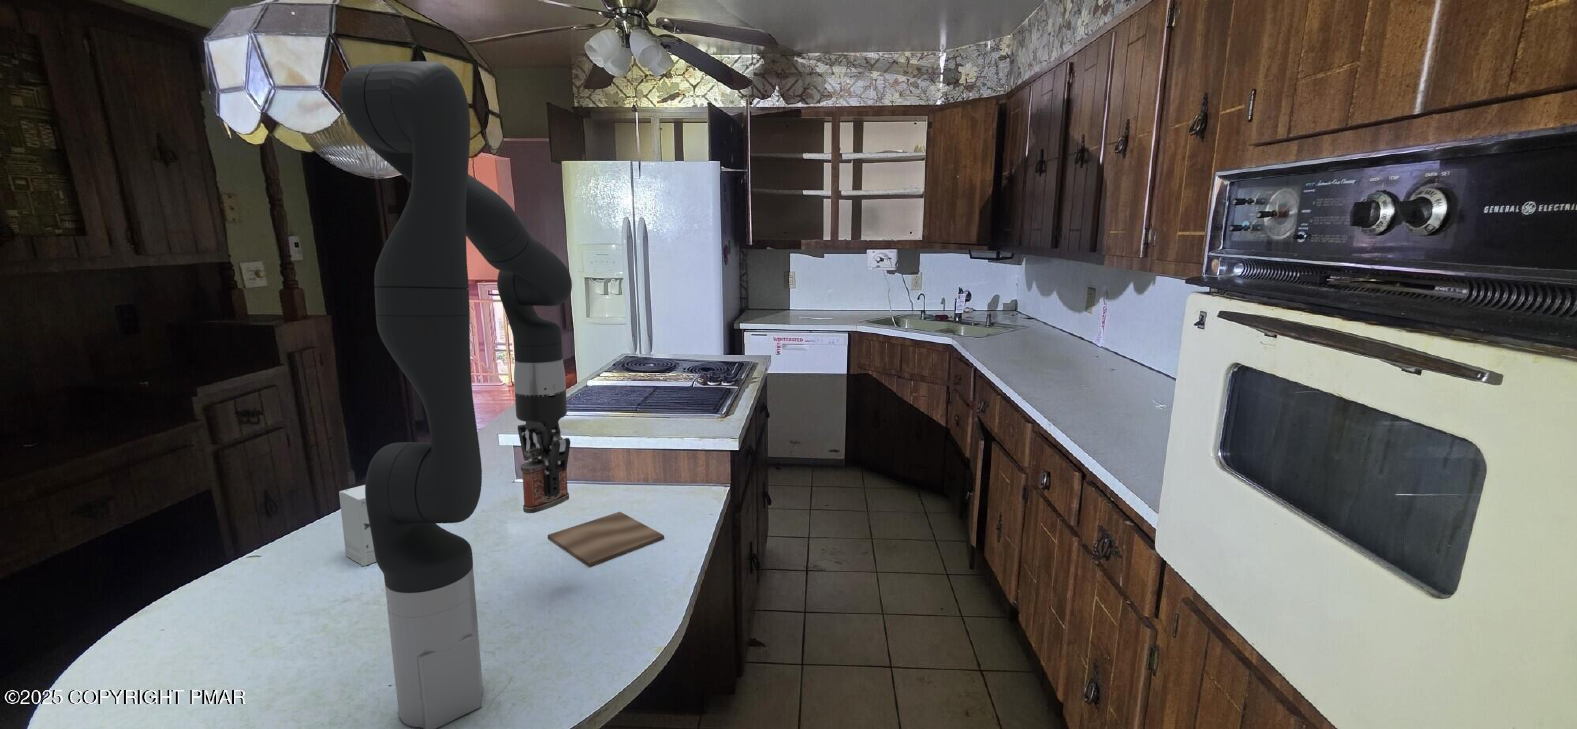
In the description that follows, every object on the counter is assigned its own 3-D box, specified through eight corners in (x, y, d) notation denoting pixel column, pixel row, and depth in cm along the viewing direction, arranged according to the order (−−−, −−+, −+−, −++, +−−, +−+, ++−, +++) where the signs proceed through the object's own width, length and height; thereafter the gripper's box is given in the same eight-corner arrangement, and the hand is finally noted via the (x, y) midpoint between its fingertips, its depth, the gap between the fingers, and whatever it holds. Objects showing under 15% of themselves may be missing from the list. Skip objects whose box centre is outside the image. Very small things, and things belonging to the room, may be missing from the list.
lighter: (560, 494, 107) (557, 437, 105) (573, 498, 105) (571, 440, 103) (518, 510, 100) (514, 449, 98) (532, 515, 98) (528, 453, 96)
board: (664, 539, 123) (664, 535, 123) (589, 567, 112) (589, 563, 112) (620, 515, 134) (619, 511, 134) (547, 538, 123) (547, 534, 123)
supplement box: (363, 567, 111) (356, 499, 109) (345, 556, 115) (337, 490, 113) (407, 551, 117) (401, 487, 115) (388, 541, 121) (382, 478, 119)
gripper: (497, 384, 101) (504, 486, 104) (537, 399, 91) (543, 510, 94) (542, 378, 106) (548, 475, 109) (585, 391, 97) (589, 497, 100)
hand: (546, 491), depth 102 cm, fingers closed on lighter, 3 cm apart
